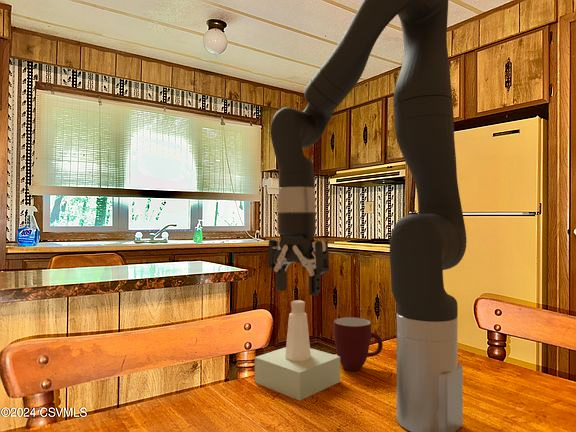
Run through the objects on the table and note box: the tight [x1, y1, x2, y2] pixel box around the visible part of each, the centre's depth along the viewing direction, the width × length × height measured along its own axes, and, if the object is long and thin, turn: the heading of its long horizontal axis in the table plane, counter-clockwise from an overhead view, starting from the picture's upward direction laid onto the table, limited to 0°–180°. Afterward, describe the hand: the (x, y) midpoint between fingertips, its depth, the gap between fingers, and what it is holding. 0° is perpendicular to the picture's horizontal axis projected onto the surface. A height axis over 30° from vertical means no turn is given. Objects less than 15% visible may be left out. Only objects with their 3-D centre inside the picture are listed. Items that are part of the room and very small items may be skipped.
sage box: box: [254, 346, 341, 402], centre depth 84 cm, size 12×12×5 cm
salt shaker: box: [285, 299, 311, 361], centre depth 84 cm, size 5×5×11 cm
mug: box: [333, 316, 384, 372], centre depth 92 cm, size 10×8×10 cm
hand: (297, 292), depth 84 cm, fingers open, 8 cm apart
